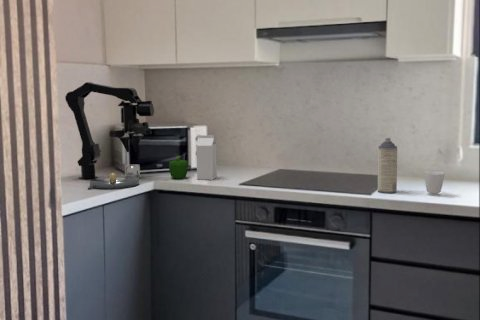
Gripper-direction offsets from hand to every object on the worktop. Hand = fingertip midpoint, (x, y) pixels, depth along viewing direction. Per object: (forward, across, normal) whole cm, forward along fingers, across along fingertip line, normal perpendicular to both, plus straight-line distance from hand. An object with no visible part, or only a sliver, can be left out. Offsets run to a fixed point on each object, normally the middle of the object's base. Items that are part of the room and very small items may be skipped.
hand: (131, 151), depth 245 cm
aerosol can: (+12, +40, -103) cm, 111 cm away
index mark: (+12, -26, -8) cm, 30 cm away
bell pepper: (+12, +13, -16) cm, 24 cm away
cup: (+12, +46, -118) cm, 127 cm away
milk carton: (+12, +20, -27) cm, 36 cm away
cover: (+12, 0, 0) cm, 12 cm away
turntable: (+12, -15, -8) cm, 21 cm away
